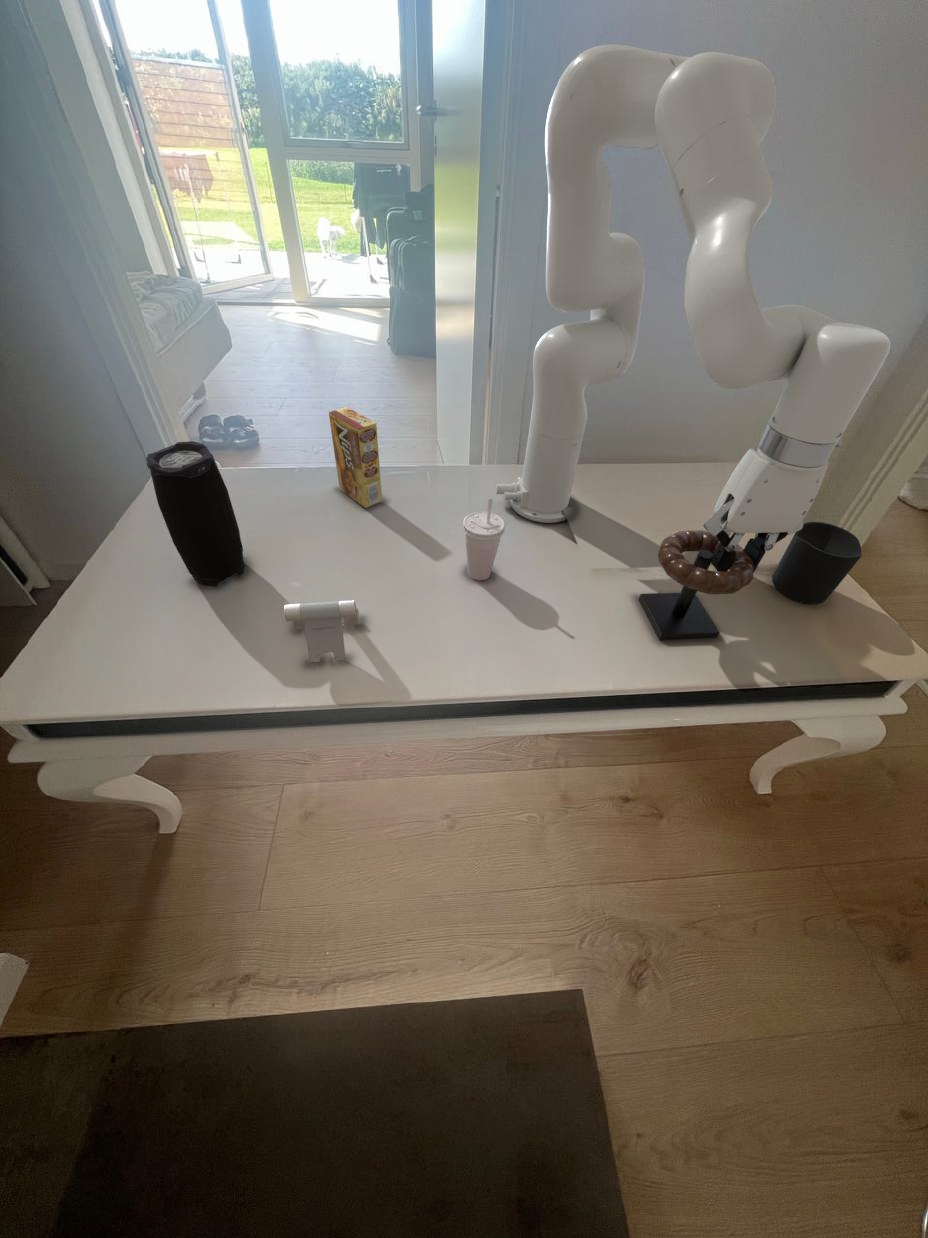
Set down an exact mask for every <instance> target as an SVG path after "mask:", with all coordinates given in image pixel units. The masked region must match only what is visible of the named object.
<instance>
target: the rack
mask: <svg viewBox="0 0 928 1238" xmlns="http://www.w3.org/2000/svg"><path fill="white" fill-rule="evenodd" d="M713 557H714V555H713V554H712V553H711V552H709V551H707V550H701V551H699V552H698V553H697V555H696V557H695V560H694V562H693V563H692V564H693V565H695V566H697V567H699V568H702V569H706V570H709V567H710V566H711V565H712V563H711V562H712V560H713ZM697 592H698V591H695V590H692V589H689V588H686V587H684V586H683V585H682V588H681V590H680V592H659V593H658V592H656V593H640V594H639V596H638V601H639V603H640V606H641V607H642V610H643V611H644V613H645V616H646V617H647V619H648V621H649V624H650V625H651V627H652V629H653V631H654V633H655V635H656V637H657V639H658V641H675V640H678V641H679V640H703V639H717V638H718V636H719V635H720V630H719V629H718V627H717V626H716V624H715V623H714V621H713V619H712V618H711V616H710V615H709V613H708V612H707V610H706V608H705V607H704V605H703V604H702V602H701V600H700V599H699V597H698V595H696V594H697Z"/></svg>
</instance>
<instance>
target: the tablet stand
mask: <svg viewBox="0 0 928 1238" xmlns="http://www.w3.org/2000/svg"><path fill="white" fill-rule="evenodd" d="M283 615H284V616H283V617H284V620H285V622H286V623H288V622H289V623H290V622H292V623H293V625H294V627H295V630H302V631H303V630H304V632H305V641H306V647H307V655H308V661H309V662H310V663H320V662H321V654H323V653H332V654H333V657H334V660H335V662H336V661H344V660H345V659H346V649H345V640H344V629H343V627H355V626H360V613H359V608H357V605H356V600H355V599H353V600H351V599H350V600H337V601H323V602H322V601H321V602H307V603H291V604H284V606H283Z"/></svg>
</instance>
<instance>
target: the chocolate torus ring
mask: <svg viewBox="0 0 928 1238" xmlns="http://www.w3.org/2000/svg"><path fill="white" fill-rule="evenodd" d="M719 543H720V542H719V540H718V539H717V537H715V536H713V535H712V534H710V533H709V532H708V531H707V530H706V531H705V530H699V529H697V530H695V529H694V530H679V531H677V532H675V533H673V534H671V535H669V536H667V537H665V538H664V539H663V540H662V541H661V543H660V547H659V550H658V553H657V560H658V563H659V564H660V565H661V567H662V569H663V571H664V572H665V574H666V575H667V576H668V577H669V578H670V579H672V580H673V581H675V582H677V583H678V584H679V585H681V586H682V587H683V586H684V587H686V588H689V589H692V590H695V591H697V592H699V593H702V594H707V595H711V596H713V595H732V594H735V593H737V592H739V591H740V590H742V589H744V588H745V587H747V586H749V585H750V584H751V583H752V581H753V579H754V573H753V569H754V563H753V561H752V559H751V558H750V557H749V555H748V554H747V553H746V552H745V550H744V548H743V546H741V545H740V544H738V545H737V546H736V548H735V549H734V550H735V551H736V556H735V558H734V559H733V561H732V563H731V565H730V567H729V569H728V570H727V571H720V572H718V571H713V570H709V569H708V570H706V569H702V568H699V567H697V566H695V565H693V564H694V563H692V562H690V561H689V560H687V559H686V558H685V556H684V555H683V553H687V552H688V553H689V552H698V553H699V551H701V550H707V551H709V552H711V553H712V554H713V555H714V553H715V551H716V549H717V547H718V545H719Z"/></svg>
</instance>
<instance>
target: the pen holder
mask: <svg viewBox="0 0 928 1238" xmlns="http://www.w3.org/2000/svg"><path fill="white" fill-rule="evenodd" d="M862 556H863V555H862V545H861V543H860V540H859V539H858V537H857V536H856V535H855V534H853V533H852V532H851V531H848V530H847V529H844V528H843V527H840V526H837V525H836V524H835V525H834V524H831V523H827V522H824V521H807V522H805V523H804V522H803V528H802V529H801V530H800V531H797V532H795V533H793V536H792V538H791V540H790V542H789V544H788V545H787V547H786V549H785V551H784V553H783V555H782V557H781V559H780V560H779V562H778V564H777V566H776V568H775V570H774V572H773V574H772V576H771V581H772V585H773V587H774V588H775V589H776V590H777V591H778V593H780V594H781V595H782V596H783V597H785V598H787V599H789V600H791V601H794V602H796V603H800V604H803V605H819V604H821V603H824V602H826V600H828V598H829V597H830V596H831V595H832V593H833V592H835V590H836V589H837V588H838V586H839V585H841V583H842V582H843V580H844V579H845V578H846V576H847V575H848V574H849V573H850V572H851V570H852V569H853V568H854V566H855V565H856V564H857V563H858V561H859V560H860V558H862Z"/></svg>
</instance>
